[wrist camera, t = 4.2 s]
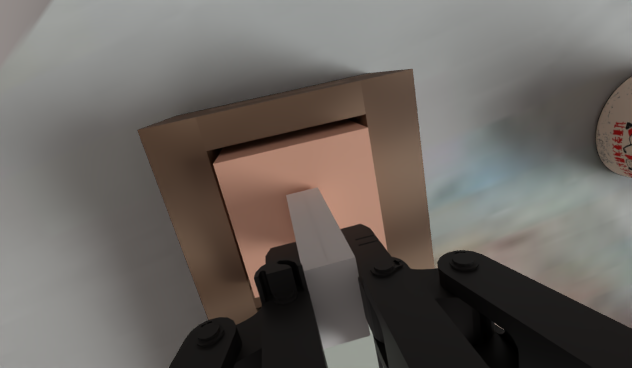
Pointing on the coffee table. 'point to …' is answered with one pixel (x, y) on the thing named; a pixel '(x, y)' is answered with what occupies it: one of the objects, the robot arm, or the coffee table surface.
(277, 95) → the frame
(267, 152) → the pink square block
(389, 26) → the coffee table surface
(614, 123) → the teacup with lid
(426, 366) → the robot arm
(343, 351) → the slate key
